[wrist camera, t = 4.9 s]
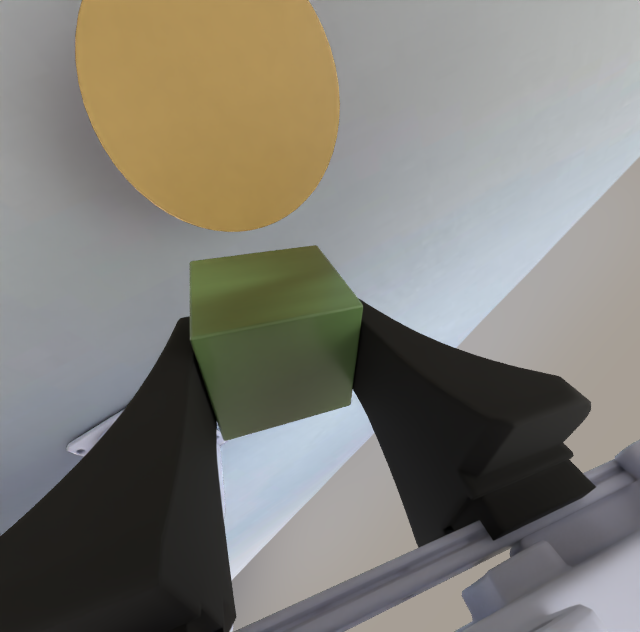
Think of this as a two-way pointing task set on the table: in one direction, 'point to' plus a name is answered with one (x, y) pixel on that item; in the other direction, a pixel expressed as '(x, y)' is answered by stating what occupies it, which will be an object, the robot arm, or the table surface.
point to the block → (273, 337)
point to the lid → (211, 103)
